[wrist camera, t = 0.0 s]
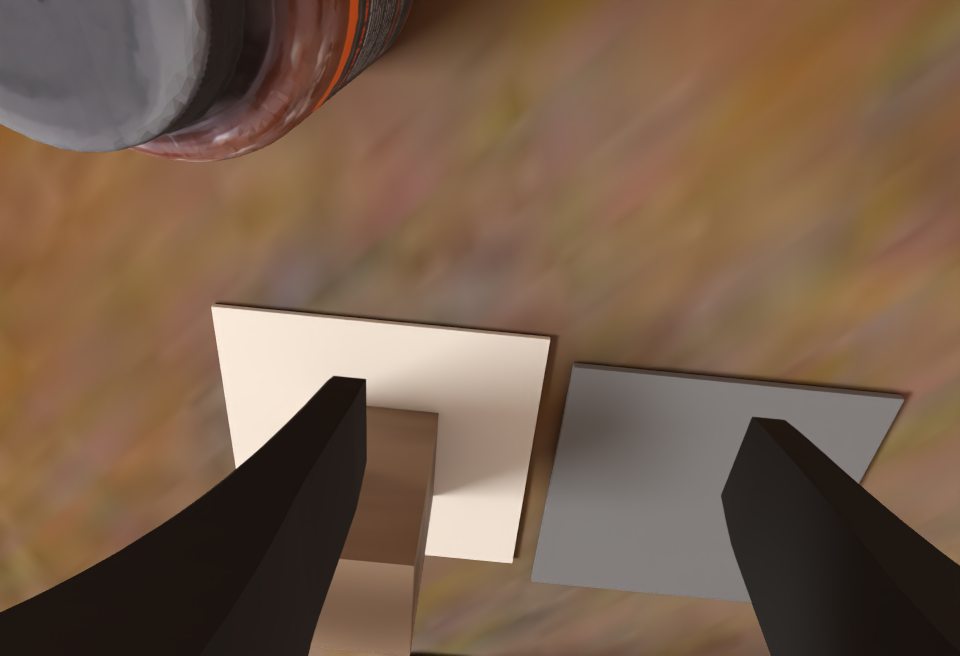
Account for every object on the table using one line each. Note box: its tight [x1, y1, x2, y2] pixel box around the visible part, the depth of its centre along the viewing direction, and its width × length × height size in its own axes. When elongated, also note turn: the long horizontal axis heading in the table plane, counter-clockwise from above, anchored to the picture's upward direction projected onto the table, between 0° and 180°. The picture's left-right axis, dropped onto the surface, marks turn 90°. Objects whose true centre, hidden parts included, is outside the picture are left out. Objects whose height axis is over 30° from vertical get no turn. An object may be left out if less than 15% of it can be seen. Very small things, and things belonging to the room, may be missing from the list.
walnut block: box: [310, 406, 439, 656], centre depth 23 cm, size 4×4×7 cm
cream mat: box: [211, 304, 550, 563], centre depth 26 cm, size 12×12×1 cm
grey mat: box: [531, 363, 904, 603], centre depth 26 cm, size 12×12×1 cm
